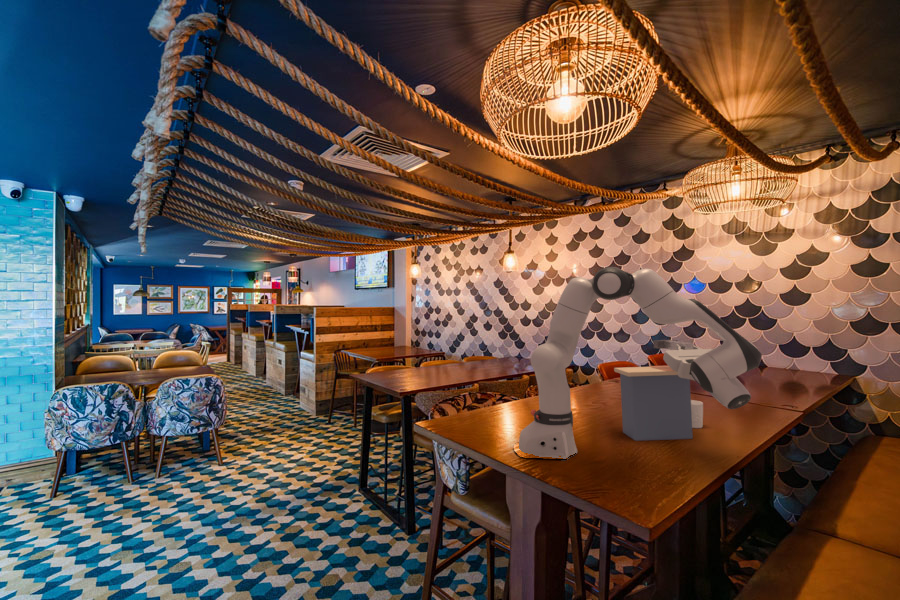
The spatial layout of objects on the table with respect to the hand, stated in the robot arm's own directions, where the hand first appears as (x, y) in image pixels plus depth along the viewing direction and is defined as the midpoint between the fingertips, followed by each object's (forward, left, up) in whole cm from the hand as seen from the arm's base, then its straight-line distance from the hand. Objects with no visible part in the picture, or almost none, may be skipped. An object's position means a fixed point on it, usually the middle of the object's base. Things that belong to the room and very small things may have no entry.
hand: (683, 345), depth 138 cm
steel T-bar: (0, +5, -2) cm, 5 cm away
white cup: (+15, +21, -36) cm, 45 cm away
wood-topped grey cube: (-6, +11, -36) cm, 38 cm away
